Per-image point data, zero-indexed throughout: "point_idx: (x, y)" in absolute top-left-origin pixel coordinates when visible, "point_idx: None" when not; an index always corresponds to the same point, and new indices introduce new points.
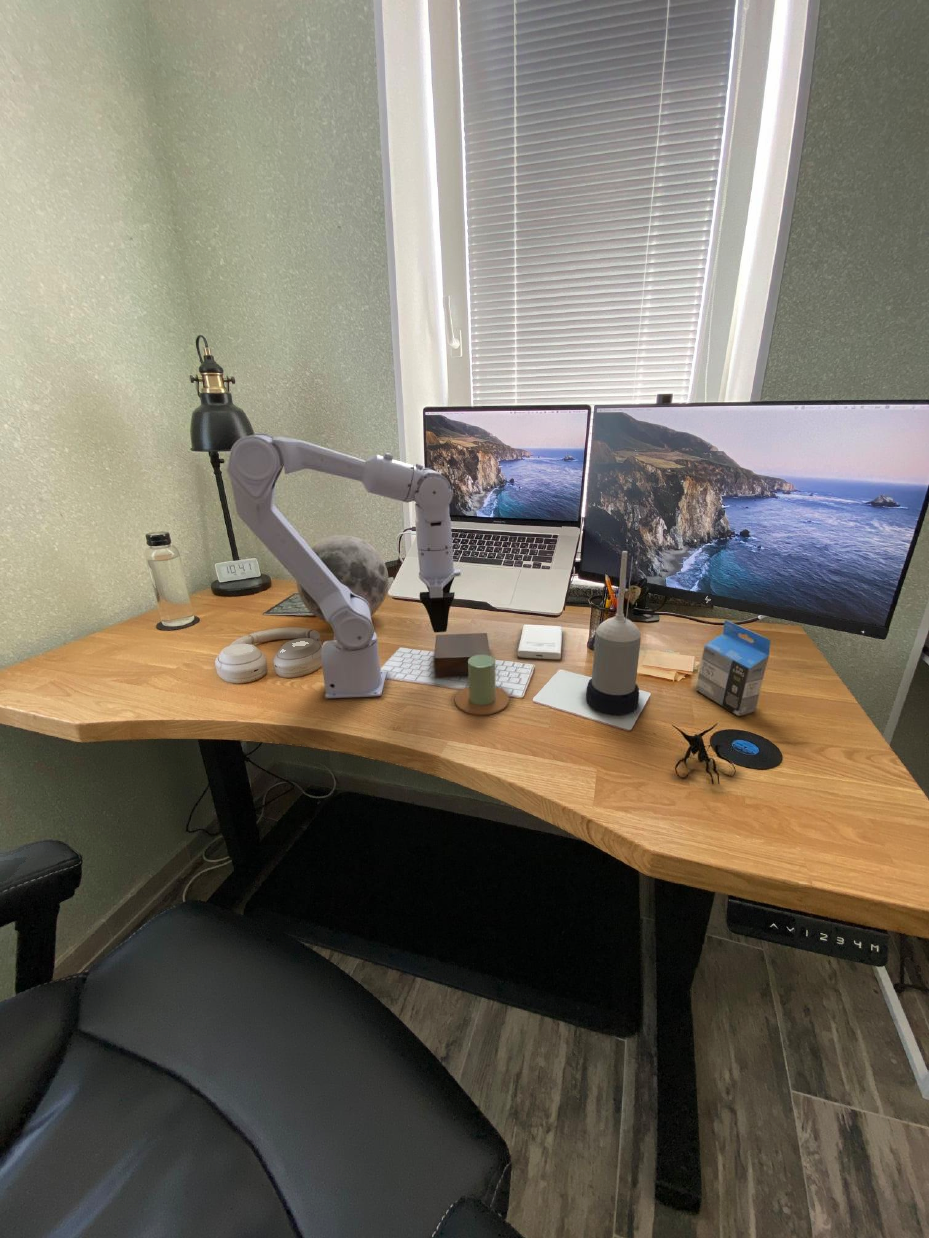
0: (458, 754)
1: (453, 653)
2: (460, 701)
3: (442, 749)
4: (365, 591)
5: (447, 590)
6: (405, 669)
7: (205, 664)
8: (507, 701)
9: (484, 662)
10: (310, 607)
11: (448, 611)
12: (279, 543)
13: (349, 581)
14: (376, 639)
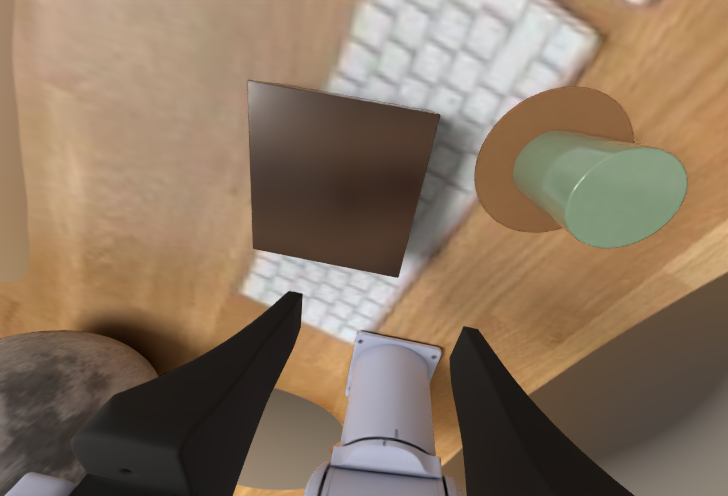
0: (722, 261)
1: (385, 227)
2: (536, 221)
3: (681, 284)
4: None
5: (249, 377)
6: (344, 297)
7: (280, 490)
8: (606, 99)
9: (646, 195)
10: None
11: (547, 419)
12: None
13: None
14: (400, 444)
